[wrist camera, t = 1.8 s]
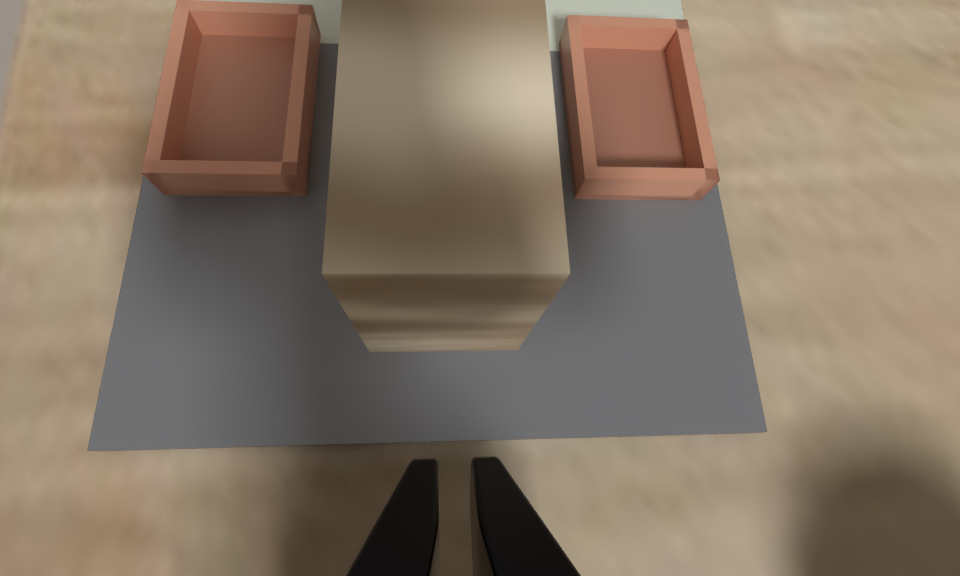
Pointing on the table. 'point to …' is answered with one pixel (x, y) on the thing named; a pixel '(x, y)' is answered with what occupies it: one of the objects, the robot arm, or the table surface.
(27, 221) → the table surface
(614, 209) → the board
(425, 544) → the robot arm
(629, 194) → the pink shallow tray
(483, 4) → the birch beam
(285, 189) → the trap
